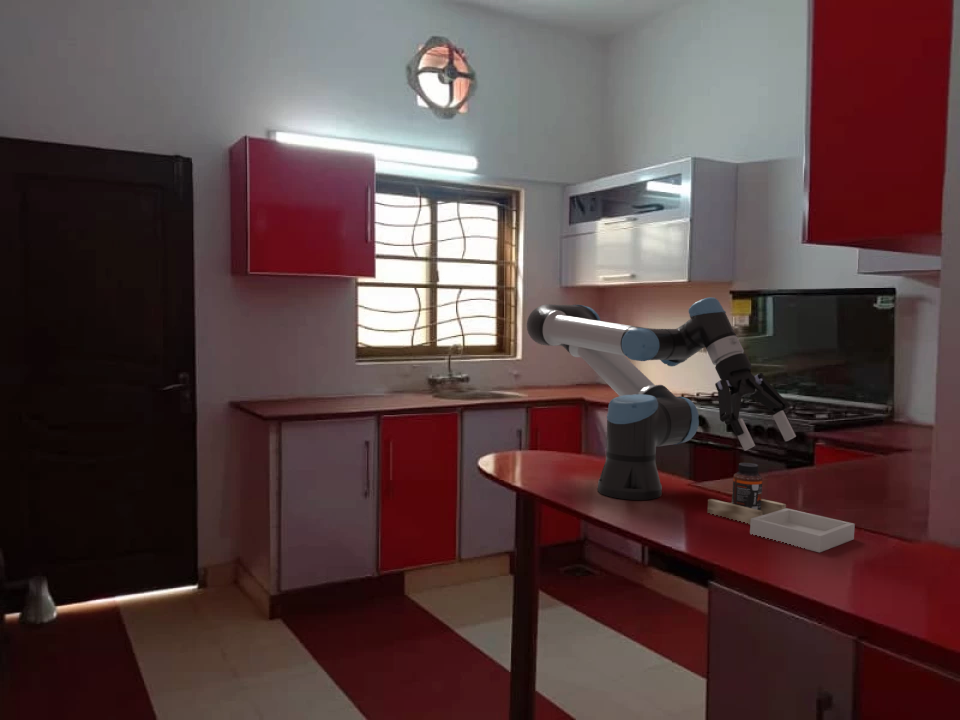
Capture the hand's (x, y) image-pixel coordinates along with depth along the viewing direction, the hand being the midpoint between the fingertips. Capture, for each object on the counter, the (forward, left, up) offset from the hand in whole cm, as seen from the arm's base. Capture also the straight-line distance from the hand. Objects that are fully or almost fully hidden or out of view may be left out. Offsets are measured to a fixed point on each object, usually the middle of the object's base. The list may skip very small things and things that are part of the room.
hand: (770, 443), depth 165 cm
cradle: (-1, -8, -15) cm, 17 cm away
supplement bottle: (-1, -8, -15) cm, 17 cm away
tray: (+14, -13, -15) cm, 24 cm away
